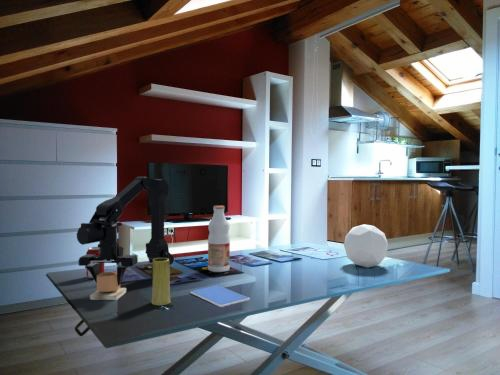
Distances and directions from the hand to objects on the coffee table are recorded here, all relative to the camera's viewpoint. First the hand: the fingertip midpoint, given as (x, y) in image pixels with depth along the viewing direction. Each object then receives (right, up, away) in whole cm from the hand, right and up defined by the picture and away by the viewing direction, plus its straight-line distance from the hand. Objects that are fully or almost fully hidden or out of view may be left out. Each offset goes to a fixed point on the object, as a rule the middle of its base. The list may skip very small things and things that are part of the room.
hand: (108, 285), depth 137 cm
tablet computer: (+38, -5, 0) cm, 38 cm away
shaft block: (0, -4, 0) cm, 4 cm away
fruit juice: (+35, -3, +37) cm, 51 cm away
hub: (0, -1, 0) cm, 1 cm away
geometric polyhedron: (+102, -3, +46) cm, 111 cm away
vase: (+20, -4, -7) cm, 21 cm away
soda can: (-14, -3, +24) cm, 28 cm away
